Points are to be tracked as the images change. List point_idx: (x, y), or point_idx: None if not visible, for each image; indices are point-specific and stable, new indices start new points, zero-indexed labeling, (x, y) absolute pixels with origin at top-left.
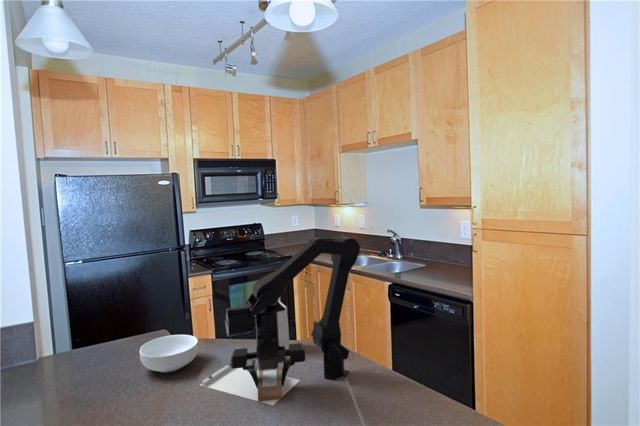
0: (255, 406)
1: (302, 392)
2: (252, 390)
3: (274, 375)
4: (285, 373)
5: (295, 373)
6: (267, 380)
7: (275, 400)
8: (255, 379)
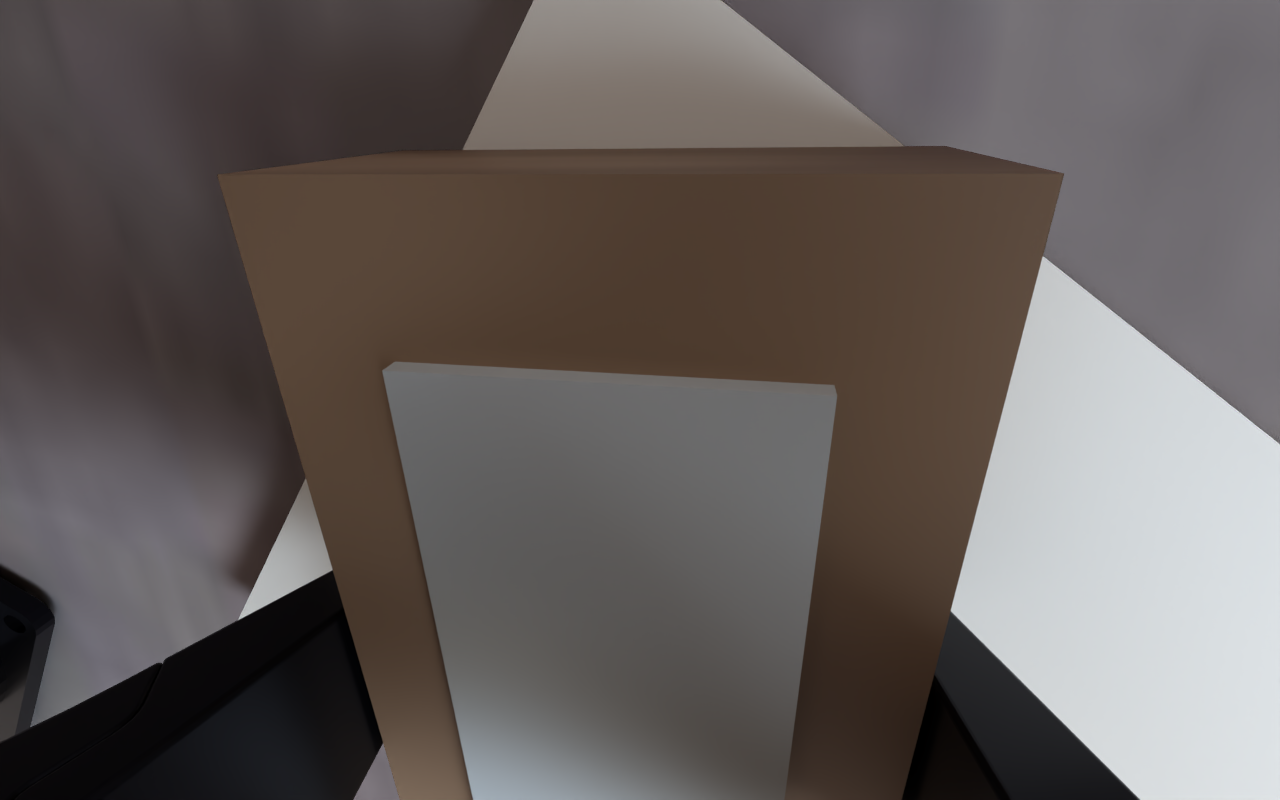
0: (1001, 86)
1: (177, 371)
2: (993, 589)
3: (511, 771)
4: (121, 702)
5: (366, 783)
6: (670, 645)
7: (541, 108)
8: (1036, 759)
